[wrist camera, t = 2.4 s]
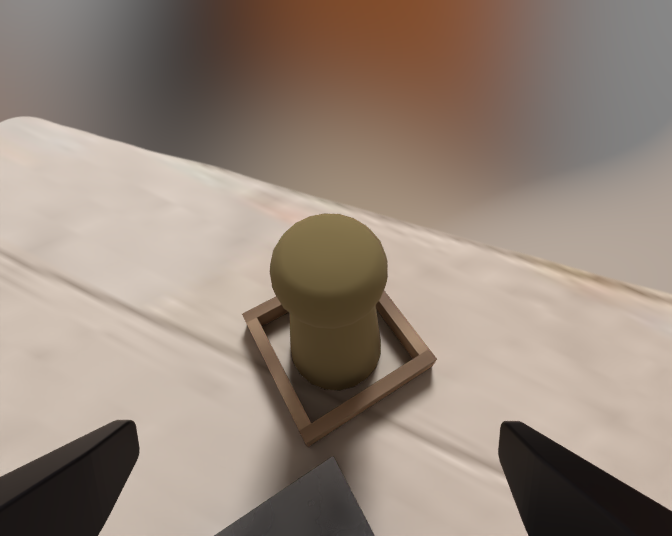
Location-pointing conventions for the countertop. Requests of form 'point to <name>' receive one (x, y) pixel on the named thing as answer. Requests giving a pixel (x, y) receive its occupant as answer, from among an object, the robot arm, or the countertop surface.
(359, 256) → the cork
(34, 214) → the countertop surface
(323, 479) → the gray hardcover book
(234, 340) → the countertop surface
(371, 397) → the socket collar
